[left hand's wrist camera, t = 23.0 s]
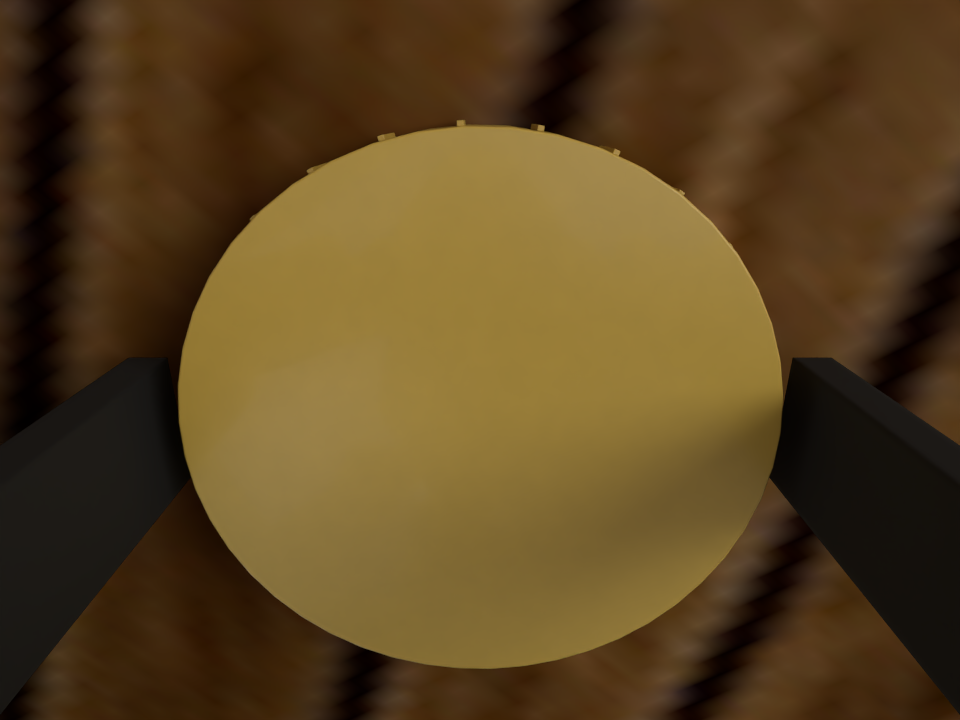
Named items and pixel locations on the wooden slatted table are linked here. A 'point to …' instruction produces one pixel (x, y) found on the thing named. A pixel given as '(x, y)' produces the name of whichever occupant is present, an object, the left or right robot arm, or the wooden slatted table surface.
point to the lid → (480, 396)
